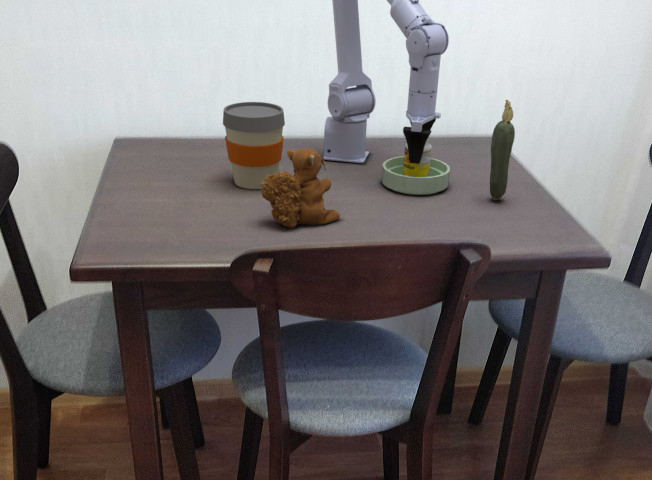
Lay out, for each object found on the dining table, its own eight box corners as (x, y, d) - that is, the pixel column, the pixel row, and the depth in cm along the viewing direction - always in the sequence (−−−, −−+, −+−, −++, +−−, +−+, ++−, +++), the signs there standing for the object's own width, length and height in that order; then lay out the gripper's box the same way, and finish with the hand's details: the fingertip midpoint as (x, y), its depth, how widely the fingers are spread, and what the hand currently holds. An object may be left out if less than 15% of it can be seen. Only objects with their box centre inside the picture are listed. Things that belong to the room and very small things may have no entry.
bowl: (376, 192, 160) (377, 174, 158) (387, 171, 172) (388, 153, 169) (444, 199, 158) (446, 180, 156) (450, 177, 170) (452, 159, 167)
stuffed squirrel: (343, 219, 148) (346, 151, 140) (287, 238, 139) (286, 166, 132) (309, 204, 153) (309, 138, 146) (253, 221, 145) (251, 152, 138)
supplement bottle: (397, 179, 165) (400, 131, 160) (418, 176, 168) (423, 128, 162) (411, 188, 161) (415, 139, 156) (433, 184, 164) (438, 136, 158)
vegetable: (504, 206, 156) (519, 104, 145) (482, 203, 157) (496, 103, 146) (504, 198, 160) (520, 99, 149) (483, 196, 160) (497, 97, 149)
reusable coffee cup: (214, 184, 161) (209, 111, 153) (247, 168, 170) (244, 98, 162) (264, 196, 156) (263, 121, 148) (296, 178, 166) (296, 107, 157)
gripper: (439, 100, 147) (432, 169, 155) (446, 83, 159) (439, 148, 167) (403, 97, 148) (397, 166, 156) (412, 80, 160) (407, 145, 168)
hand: (417, 157), depth 162 cm, fingers open, 7 cm apart
